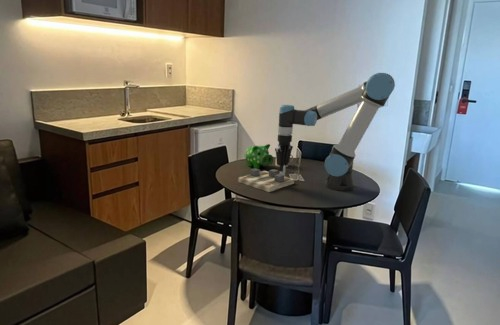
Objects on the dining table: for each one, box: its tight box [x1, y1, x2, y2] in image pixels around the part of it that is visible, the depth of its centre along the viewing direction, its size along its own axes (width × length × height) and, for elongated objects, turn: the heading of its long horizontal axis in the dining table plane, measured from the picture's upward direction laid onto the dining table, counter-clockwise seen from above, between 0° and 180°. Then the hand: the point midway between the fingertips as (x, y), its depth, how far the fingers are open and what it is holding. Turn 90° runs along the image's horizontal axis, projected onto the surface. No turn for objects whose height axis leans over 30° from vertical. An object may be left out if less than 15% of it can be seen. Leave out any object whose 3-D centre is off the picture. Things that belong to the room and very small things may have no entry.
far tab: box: [249, 167, 261, 176], centre depth 208 cm, size 4×4×3 cm
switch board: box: [237, 170, 295, 193], centre depth 205 cm, size 22×22×3 cm
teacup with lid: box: [274, 154, 294, 168], centre depth 240 cm, size 12×9×12 cm
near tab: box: [274, 173, 284, 182], centre depth 199 cm, size 4×4×3 cm
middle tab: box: [268, 169, 279, 177], centre depth 208 cm, size 4×4×3 cm
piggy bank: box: [244, 143, 274, 169], centre depth 234 cm, size 14×18×15 cm
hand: (282, 176), depth 201 cm, fingers closed
